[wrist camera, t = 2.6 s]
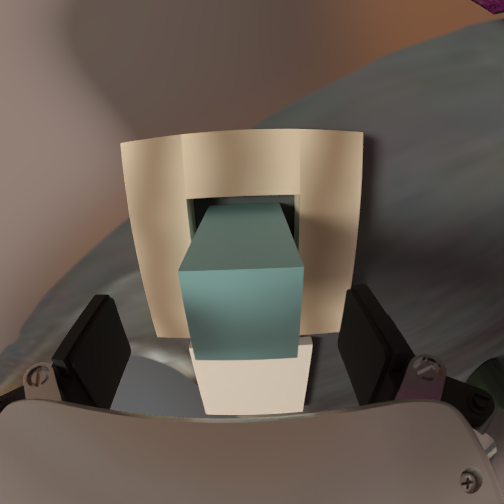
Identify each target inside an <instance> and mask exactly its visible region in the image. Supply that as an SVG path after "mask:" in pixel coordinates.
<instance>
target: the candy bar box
mask: <svg viewBox="0 0 504 504" xmlns="http://www.w3.org/2000/svg"><path fill="white" fill-rule="evenodd" d="M472 1H474V2H475V3H477V4H479V5H480V6H482V7H483V8H485V9H487V10H488V11H490V12H491V13H493V14H498V13H503V12H504V0H472Z"/></svg>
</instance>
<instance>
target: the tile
mask: <svg viewBox="0 0 504 504" xmlns="http://www.w3.org/2000/svg"><path fill="white" fill-rule="evenodd" d="M312 347H313V343H312V339H311V336H310V337H299V345H298V356H297V358H284V359H264V360H195V356H194V352H193V347H192V343H191V342H190V346H189V350H190V354H191V359H192V363H193V367H194V371H195V375H196V378H197V382H198V386H199V389H200V393H201V397H202V401H203V404H204V408H205V411H206V414H215V415H254V414H277V413H291V412H303V406H304V400H305V394H306V388H307V382H308V375H309V368H310V361H311V354H312Z"/></svg>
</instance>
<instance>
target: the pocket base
mask: <svg viewBox="0 0 504 504" xmlns="http://www.w3.org/2000/svg"><path fill="white" fill-rule="evenodd" d="M121 154H122V164H123V172H124V180H125V188H126V195H127V202H128V209H129V215H130V221H131V227H132V232H133V238H134V243H135V248H136V253H137V258H138V262H139V267H140V272H141V276H142V280H143V285H144V289H145V293H146V297H147V301H148V305H149V308H150V312H151V316H152V320H153V323H154V327H155V330H156V334H157V337H171V338H190V334H189V329H188V324H187V319H186V314H185V309H184V304H183V299H182V293H181V288H180V282H179V276H178V269H179V267H180V265H181V263H182V261H183V259H184V256H185V254H186V252H187V250H188V248H189V246H190V244H191V242H192V240H193V238H194V235H195V233H196V231H197V230H196V221H195V211H194V200H193V199H195V198H211V197H230V196H255V195H295V211H294V242H295V245H296V247H297V250H298V252H299V255H300V258H301V260H302V263H303V266H304V276H303V293H302V308H301V321H300V334H299V335H307V334H320V333H331V332H340V327H341V321H342V316H343V310H344V303H345V297H346V291H347V290H348V289H350V288H351V283H352V276H353V269H354V261H355V253H356V244H357V235H358V225H359V213H360V200H361V185H362V163H363V132H351V131H336V130H315V129H251V130H229V131H214V132H202V133H191V134H181V135H173V136H165V137H158V138H150V139H143V140H137V141H131V142H125V143H121Z"/></svg>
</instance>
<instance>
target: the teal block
mask: <svg viewBox="0 0 504 504" xmlns="http://www.w3.org/2000/svg"><path fill="white" fill-rule="evenodd" d="M178 276H179V282H180V288H181V293H182V299H183V304H184V309H185V314H186V319H187V324H188V329H189V334H190V338H191V343H192V347H193V352H194V356H195V360H264V359H284V358H297V356H298V345H299V334H300V321H301V308H302V293H303V276H304V266H303V263H302V260H301V258H300V255H299V252H298V250H297V247H296V245H295V242H294V239H293V237H292V234H291V232H290V229H289V226H288V224H287V221H286V219H285V216H284V214H283V211H282V209H281V206H280V204H279V203H255V204H230V205H210V206H209V207H208V209H207V211H206V213H205V215H204V217H203V219H202V221H201V223H200V225H199V227H198V229H197V231H196V233H195V235H194V238H193V240H192V242H191V244H190V246H189V248H188V250H187V252H186V254H185V256H184V259H183V261H182V263H181V265H180V267H179V269H178Z"/></svg>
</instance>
